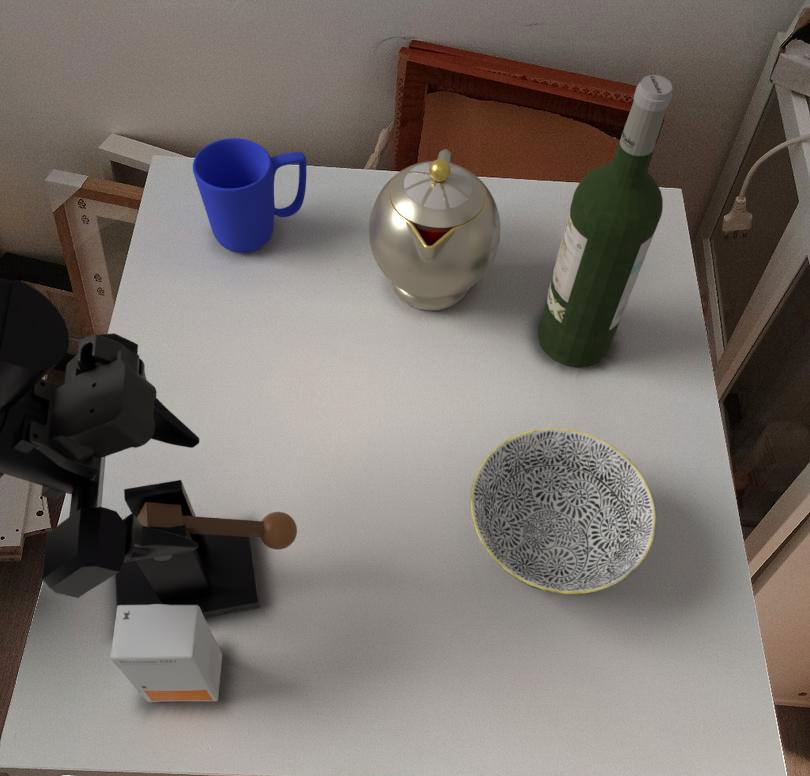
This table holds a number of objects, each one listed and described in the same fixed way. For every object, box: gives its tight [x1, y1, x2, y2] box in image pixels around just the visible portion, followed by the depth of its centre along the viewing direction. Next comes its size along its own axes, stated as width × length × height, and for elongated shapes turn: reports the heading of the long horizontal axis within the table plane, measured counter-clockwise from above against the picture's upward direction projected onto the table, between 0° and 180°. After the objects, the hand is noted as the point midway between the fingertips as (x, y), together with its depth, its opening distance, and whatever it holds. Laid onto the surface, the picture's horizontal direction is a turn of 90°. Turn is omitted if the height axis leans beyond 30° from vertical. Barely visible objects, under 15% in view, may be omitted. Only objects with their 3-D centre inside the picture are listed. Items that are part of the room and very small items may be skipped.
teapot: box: [368, 148, 501, 311], centre depth 86 cm, size 18×14×16 cm
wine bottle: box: [537, 74, 673, 368], centre depth 76 cm, size 8×8×30 cm
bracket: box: [114, 479, 261, 618], centre depth 69 cm, size 12×8×13 cm, turn 102°
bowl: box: [470, 427, 657, 595], centre depth 74 cm, size 16×16×8 cm
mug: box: [192, 137, 308, 254], centre depth 91 cm, size 8×12×10 cm
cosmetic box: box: [110, 604, 223, 703], centre depth 65 cm, size 6×4×12 cm
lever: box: [137, 502, 298, 551], centre depth 67 cm, size 13×3×3 cm, turn 102°
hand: (195, 493), depth 63 cm, fingers open, 9 cm apart
